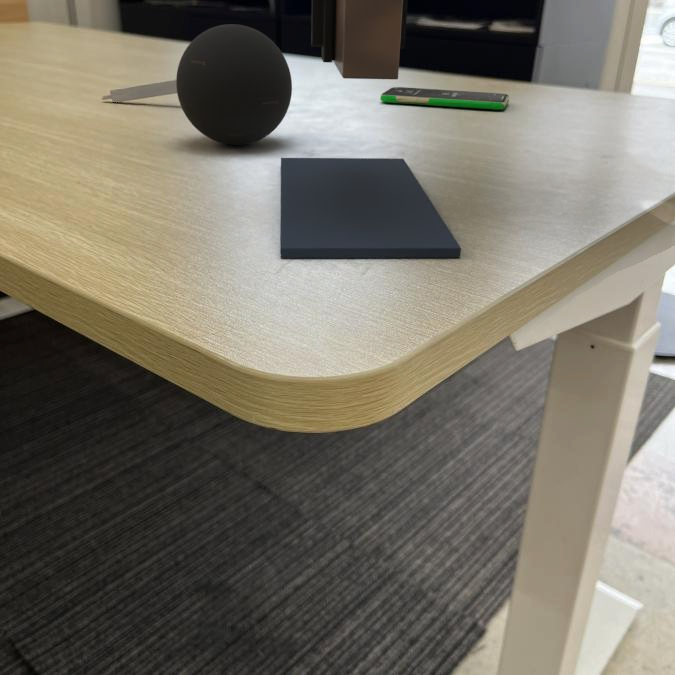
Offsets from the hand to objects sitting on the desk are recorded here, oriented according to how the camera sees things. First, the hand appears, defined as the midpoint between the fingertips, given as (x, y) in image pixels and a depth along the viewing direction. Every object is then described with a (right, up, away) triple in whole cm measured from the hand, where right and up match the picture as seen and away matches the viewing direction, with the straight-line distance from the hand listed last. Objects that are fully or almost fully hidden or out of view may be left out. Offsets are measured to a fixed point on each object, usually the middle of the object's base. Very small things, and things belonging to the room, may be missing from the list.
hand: (357, 57), depth 47 cm
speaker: (-10, 0, +21) cm, 23 cm away
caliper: (-19, +8, +38) cm, 43 cm away
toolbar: (0, 0, 0) cm, 0 cm away
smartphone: (+12, +11, +45) cm, 47 cm away
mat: (0, -8, +4) cm, 9 cm away
